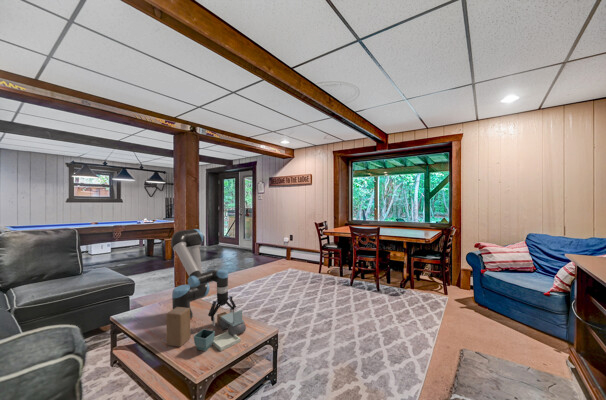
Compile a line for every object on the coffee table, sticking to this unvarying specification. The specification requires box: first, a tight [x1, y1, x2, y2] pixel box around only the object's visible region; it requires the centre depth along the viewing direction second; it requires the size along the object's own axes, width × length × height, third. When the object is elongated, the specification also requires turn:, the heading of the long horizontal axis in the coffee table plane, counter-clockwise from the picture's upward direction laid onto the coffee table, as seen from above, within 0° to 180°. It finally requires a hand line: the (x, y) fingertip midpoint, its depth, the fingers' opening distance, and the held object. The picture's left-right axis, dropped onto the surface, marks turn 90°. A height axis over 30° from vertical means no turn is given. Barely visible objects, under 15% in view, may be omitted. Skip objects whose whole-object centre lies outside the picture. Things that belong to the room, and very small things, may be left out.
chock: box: [216, 311, 228, 326], centre depth 181 cm, size 5×6×7 cm
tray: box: [212, 330, 242, 352], centre depth 159 cm, size 13×13×2 cm
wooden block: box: [165, 307, 191, 348], centre depth 159 cm, size 10×10×20 cm
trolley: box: [218, 309, 247, 337], centre depth 172 cm, size 19×9×15 cm, turn 46°
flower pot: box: [193, 328, 216, 352], centre depth 152 cm, size 9×9×9 cm
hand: (222, 321), depth 181 cm, fingers open, 13 cm apart
